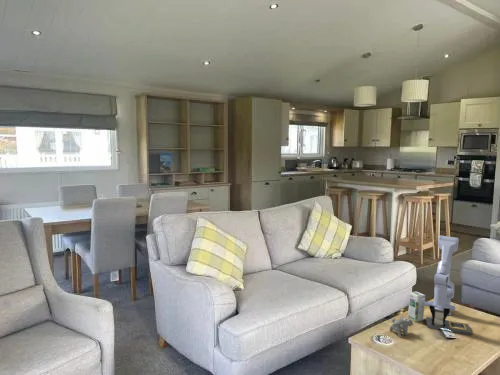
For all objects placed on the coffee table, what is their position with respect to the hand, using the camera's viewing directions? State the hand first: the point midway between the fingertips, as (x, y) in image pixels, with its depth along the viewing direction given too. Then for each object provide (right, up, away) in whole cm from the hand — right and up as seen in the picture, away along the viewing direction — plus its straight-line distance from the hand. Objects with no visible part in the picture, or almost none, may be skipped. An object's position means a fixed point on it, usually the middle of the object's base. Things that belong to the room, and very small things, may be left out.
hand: (438, 321), depth 200 cm
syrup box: (-9, -2, +7) cm, 12 cm away
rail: (+4, -3, -1) cm, 5 cm away
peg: (0, -2, 0) cm, 2 cm away
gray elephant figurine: (-23, -3, -8) cm, 24 cm away
